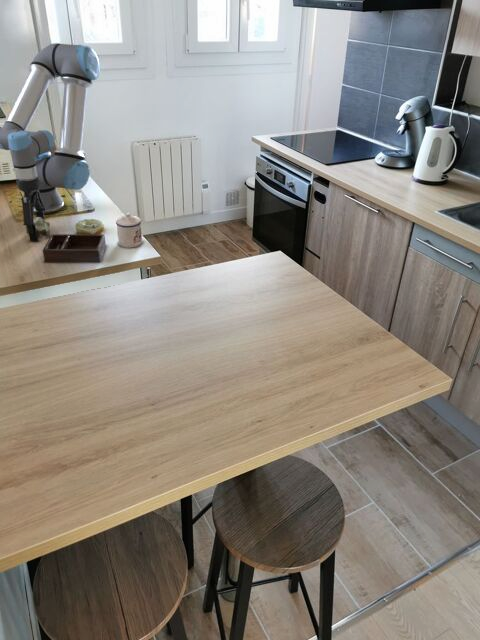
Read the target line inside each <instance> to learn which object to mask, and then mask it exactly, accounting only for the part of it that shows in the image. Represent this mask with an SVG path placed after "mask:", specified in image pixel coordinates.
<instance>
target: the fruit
mask: <svg viewBox="0 0 480 640" xmlns="http://www.w3.org/2000/svg"><path fill="white" fill-rule="evenodd" d="M34 224H35V227H36V232H37V235H39V236H43V237H46V238H50V237H51V232H50V231H51V230H50V229H51V225H50V222H49V221H46V220H45V221H44V220H43V219H42V218H41V217H36V216H35V217H34ZM22 225H23V226H25V225H24V223H22ZM25 233H26V234H27V235H29V233H28V228H27V226H25Z"/></svg>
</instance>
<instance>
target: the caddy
mask: <svg viewBox="0 0 480 640" xmlns="http://www.w3.org/2000/svg"><path fill="white" fill-rule="evenodd" d="M105 236H106V235H105V234H97V235H82V234H80V233H78V234H77V233H76V234H74V233H73V234H72V233H71V234H69V233H67V234H65V233H64V234H62V233H61V234H59V233H58V234H57V233H56V234H53V233H52V234H50V237H48V238H49V239H48V240H47V241H46V243H45V245H44V247H43V249H42V254H43V259H44V263H101V262H102V258H103V256H104V253H105V249H106V246H107V244H106V237H105Z"/></svg>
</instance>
